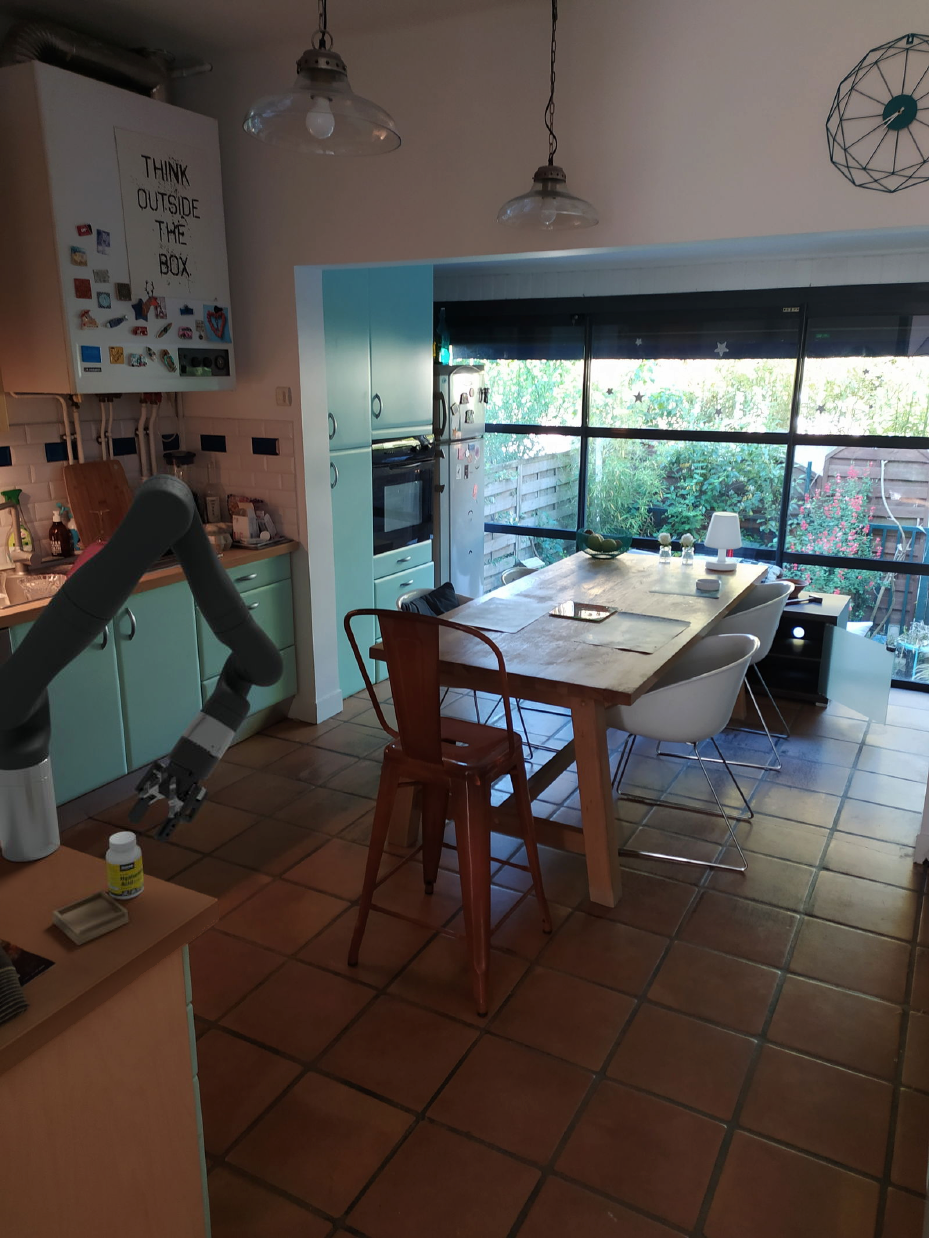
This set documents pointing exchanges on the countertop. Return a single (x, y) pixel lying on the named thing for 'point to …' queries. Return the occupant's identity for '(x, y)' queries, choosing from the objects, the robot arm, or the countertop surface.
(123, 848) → the supplement bottle
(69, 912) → the wooden tray
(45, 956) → the countertop surface
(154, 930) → the countertop surface
